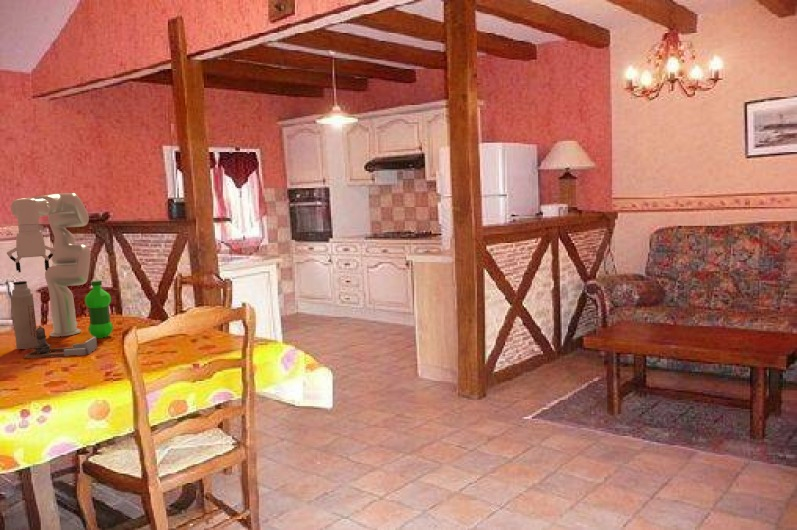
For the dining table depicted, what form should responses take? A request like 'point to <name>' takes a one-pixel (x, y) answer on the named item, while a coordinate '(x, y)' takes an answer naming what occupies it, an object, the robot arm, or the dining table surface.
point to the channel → (31, 354)
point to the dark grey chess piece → (42, 342)
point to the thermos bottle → (23, 316)
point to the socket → (82, 348)
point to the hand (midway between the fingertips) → (33, 271)
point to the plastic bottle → (99, 310)
